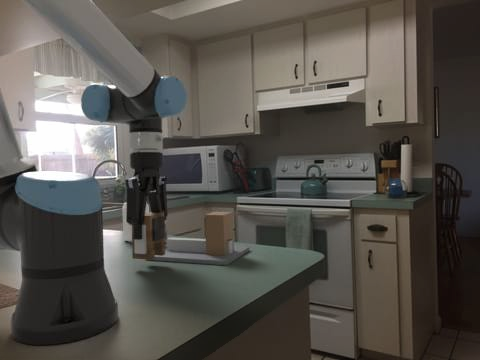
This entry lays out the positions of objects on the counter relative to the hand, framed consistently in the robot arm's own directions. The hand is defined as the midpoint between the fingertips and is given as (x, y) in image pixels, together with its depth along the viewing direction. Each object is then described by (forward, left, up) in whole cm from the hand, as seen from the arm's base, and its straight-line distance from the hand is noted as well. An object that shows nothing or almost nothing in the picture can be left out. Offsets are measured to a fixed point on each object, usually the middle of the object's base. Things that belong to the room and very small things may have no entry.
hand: (149, 250), depth 98 cm
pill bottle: (+21, +11, -4) cm, 24 cm away
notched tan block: (0, 0, -1) cm, 1 cm away
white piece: (+28, +23, -4) cm, 36 cm away
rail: (+14, -6, -4) cm, 15 cm away
